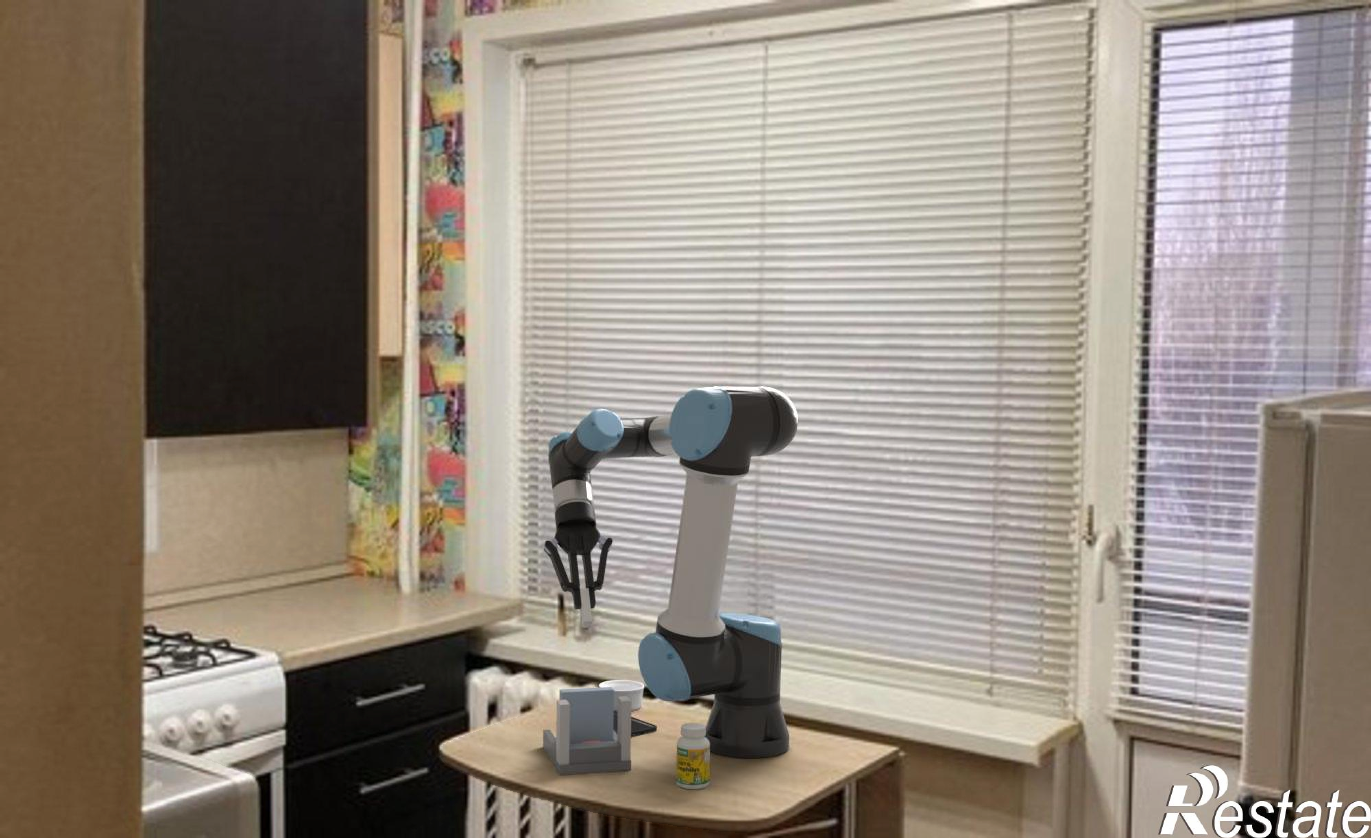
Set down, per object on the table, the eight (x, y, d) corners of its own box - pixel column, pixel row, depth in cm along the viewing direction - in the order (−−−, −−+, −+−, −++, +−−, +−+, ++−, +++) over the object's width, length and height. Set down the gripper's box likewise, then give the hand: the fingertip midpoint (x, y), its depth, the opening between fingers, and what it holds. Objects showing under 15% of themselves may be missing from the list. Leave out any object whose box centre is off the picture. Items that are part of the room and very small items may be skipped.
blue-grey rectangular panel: (558, 747, 233) (559, 689, 233) (610, 744, 236) (611, 686, 235) (560, 750, 231) (561, 692, 231) (613, 747, 234) (613, 689, 233)
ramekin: (602, 699, 272) (602, 678, 272) (646, 701, 271) (647, 680, 271) (595, 711, 263) (595, 689, 263) (640, 713, 262) (641, 691, 262)
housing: (542, 746, 240) (543, 681, 239) (610, 742, 243) (610, 678, 242) (559, 774, 224) (560, 705, 224) (631, 769, 228) (632, 701, 227)
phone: (609, 708, 262) (659, 726, 251) (609, 714, 262) (659, 732, 251) (576, 715, 257) (625, 733, 246) (576, 721, 257) (625, 739, 246)
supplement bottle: (714, 781, 222) (715, 723, 222) (702, 791, 217) (703, 732, 217) (683, 777, 224) (684, 719, 224) (670, 787, 219) (671, 728, 219)
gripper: (606, 517, 262) (620, 630, 250) (538, 520, 259) (549, 635, 247) (611, 498, 256) (625, 613, 243) (541, 500, 253) (552, 617, 241)
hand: (587, 624), depth 245 cm, fingers closed
